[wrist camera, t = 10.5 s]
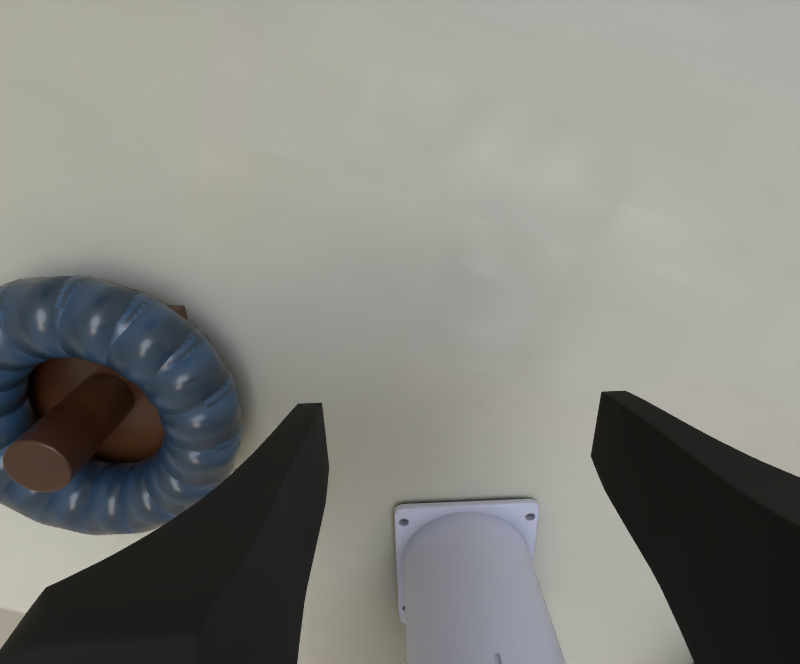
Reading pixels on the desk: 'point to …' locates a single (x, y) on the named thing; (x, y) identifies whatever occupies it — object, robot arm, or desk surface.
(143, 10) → the desk surface
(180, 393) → the ring
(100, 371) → the peg stand
